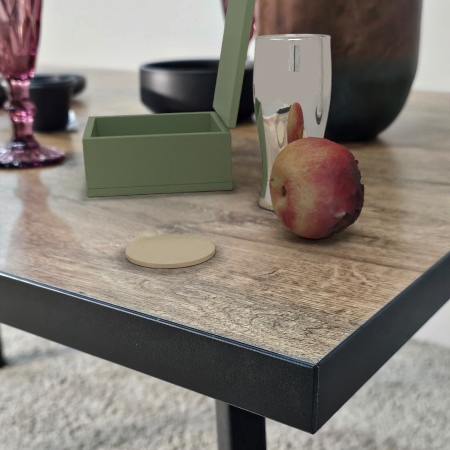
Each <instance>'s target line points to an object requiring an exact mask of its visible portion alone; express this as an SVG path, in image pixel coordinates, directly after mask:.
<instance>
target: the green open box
mask: <svg viewBox="0 0 450 450" xmlns="http://www.w3.org/2000/svg"><path fill="white" fill-rule="evenodd" d="M87 117H88V118H87V121H86V125H85V127H84V131H83V135H82V138H81V142H82V143H81V144H82V153H83V164H84V175H85V176H84V177H85V185H86V197H87V198H98V197H117V196H136V195H138V196H139V195H156V194H157V195H158V194H159V195H160V194H174V193H176V194H177V193H196V192H217V191H219V192H220V191H233V154H232V153H233V152H232V149H233V148H232V147H233V146H232V143H233V142H232V132H231V131H230V129H229V128H228V127H227V126H226V124H225V123H224V122H223V120H222V119H221V117H220V116H219V115H218V113H217V112H216V111H196V112H194V111H193V112H171V113H169V112H168V113H166V112H165V113H143V114H141V113H140V114H119V115H117V114H115V115H94V116H90V115H89V116H87Z"/></svg>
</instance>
